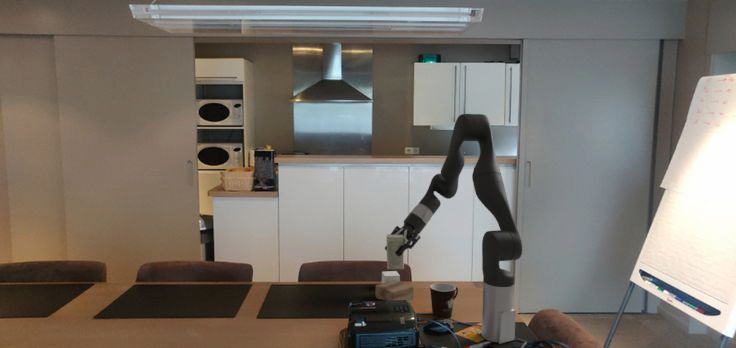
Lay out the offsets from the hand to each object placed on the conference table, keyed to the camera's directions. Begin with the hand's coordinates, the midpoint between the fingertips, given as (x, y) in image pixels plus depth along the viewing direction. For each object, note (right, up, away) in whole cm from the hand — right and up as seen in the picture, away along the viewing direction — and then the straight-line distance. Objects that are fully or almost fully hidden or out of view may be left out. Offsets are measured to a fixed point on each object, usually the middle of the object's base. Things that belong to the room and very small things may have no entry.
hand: (391, 252), depth 184 cm
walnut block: (+1, -18, +3) cm, 18 cm away
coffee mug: (+18, -20, -13) cm, 30 cm away
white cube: (0, -17, +14) cm, 22 cm away
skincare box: (+1, -6, +2) cm, 6 cm away
